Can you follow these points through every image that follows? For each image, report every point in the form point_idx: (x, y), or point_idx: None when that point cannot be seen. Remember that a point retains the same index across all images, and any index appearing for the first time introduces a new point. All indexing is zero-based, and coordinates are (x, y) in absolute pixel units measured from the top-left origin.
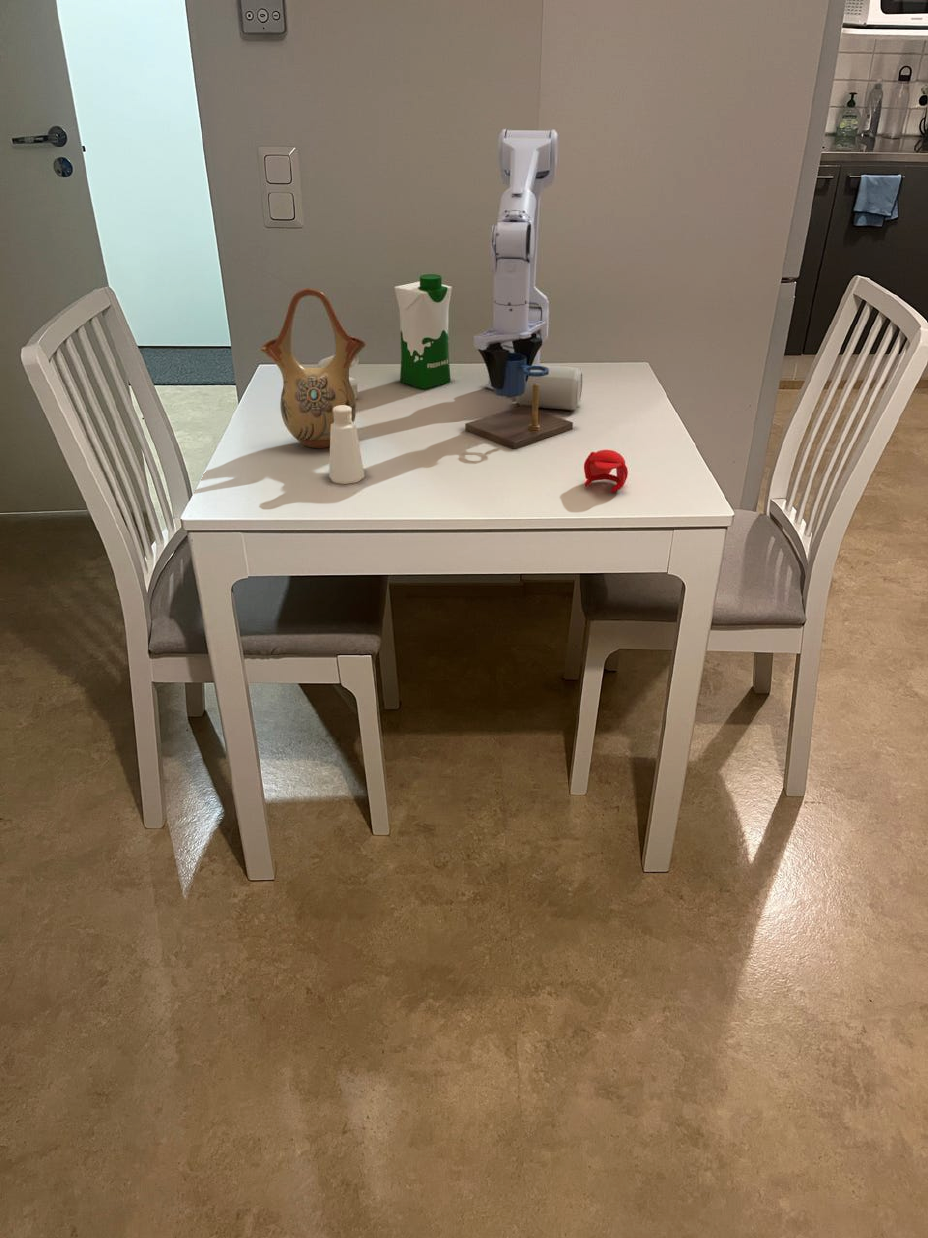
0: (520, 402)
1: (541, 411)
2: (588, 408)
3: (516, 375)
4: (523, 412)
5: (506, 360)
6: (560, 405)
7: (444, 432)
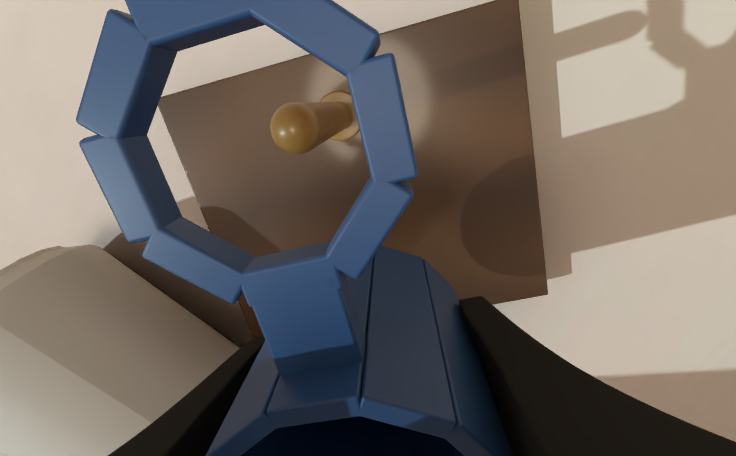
0: None
1: None
2: None
3: (381, 307)
4: None
5: (537, 435)
6: (134, 273)
7: (611, 297)
